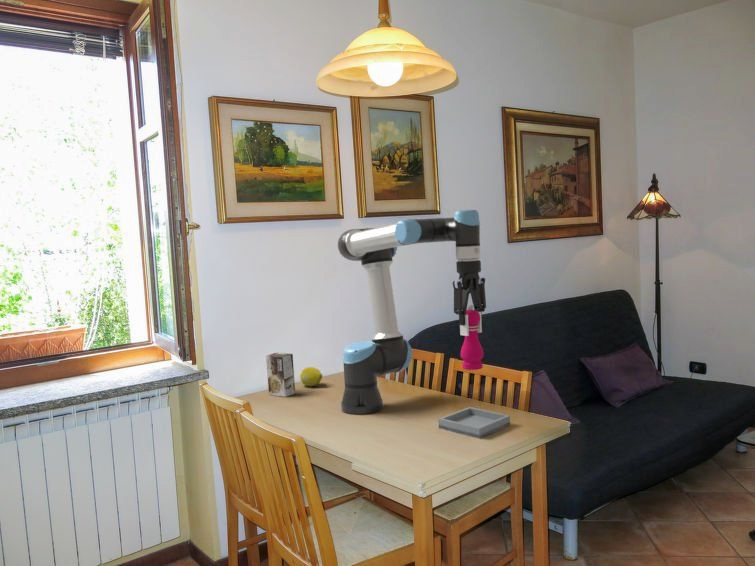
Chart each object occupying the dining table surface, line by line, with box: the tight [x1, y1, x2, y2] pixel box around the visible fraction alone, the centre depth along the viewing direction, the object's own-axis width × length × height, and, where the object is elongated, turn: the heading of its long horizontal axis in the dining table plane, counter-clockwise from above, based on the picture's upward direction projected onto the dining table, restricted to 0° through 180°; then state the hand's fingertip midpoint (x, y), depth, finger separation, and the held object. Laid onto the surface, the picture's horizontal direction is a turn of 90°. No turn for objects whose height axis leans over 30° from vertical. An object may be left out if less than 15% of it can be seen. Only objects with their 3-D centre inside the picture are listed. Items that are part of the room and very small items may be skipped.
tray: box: [438, 406, 511, 439], centre depth 197 cm, size 16×16×3 cm
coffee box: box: [265, 352, 296, 398], centre depth 248 cm, size 9×6×16 cm
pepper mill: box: [460, 304, 484, 371], centre depth 195 cm, size 7×7×20 cm
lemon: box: [299, 366, 323, 387], centre depth 259 cm, size 11×8×8 cm
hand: (471, 333), depth 195 cm, fingers closed on pepper mill, 6 cm apart
